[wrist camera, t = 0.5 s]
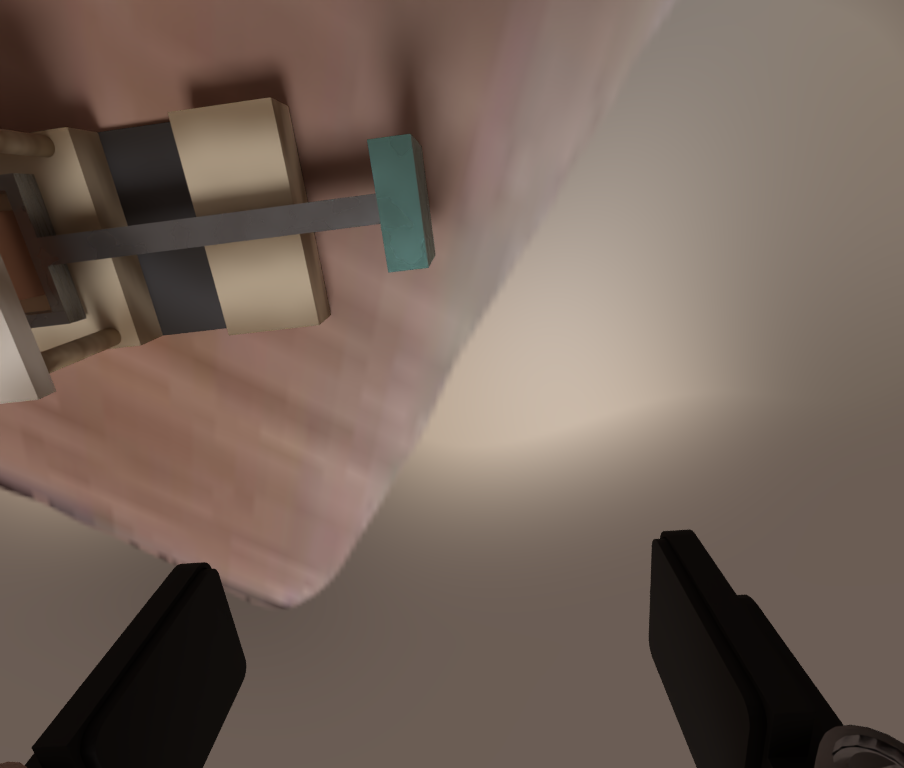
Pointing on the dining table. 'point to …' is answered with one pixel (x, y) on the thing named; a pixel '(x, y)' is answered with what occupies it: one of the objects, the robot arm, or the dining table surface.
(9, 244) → the block
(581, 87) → the dining table surface
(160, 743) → the robot arm
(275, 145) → the tunnel
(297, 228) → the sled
